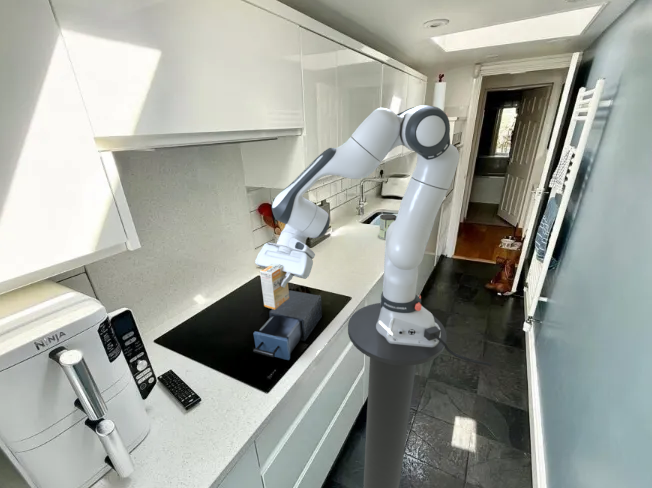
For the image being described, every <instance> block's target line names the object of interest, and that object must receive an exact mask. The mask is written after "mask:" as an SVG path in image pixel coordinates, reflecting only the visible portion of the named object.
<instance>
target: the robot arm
mask: <svg viewBox="0 0 652 488" xmlns="http://www.w3.org/2000/svg"><path fill="white" fill-rule="evenodd" d="M450 133H451V125H450V120H449V117H448V115H447V113H446V112H445V111H444V110H443V109H441V108H439V107H437V106H435V105H434V106H432V105H426V104H421V105H418V106H413V107H410V108H408V109H405V110H404V111H402V112H399V113H397V114H396V113H395V111H393V110H391V109H388V108H386V107H377V108H376V109H374V110H372V112H371V113H370V114H368V116H367V117H365V118H364V120H363V121H362V122H361V123H359V125H358V126H357V127H356V129H355V130H354V131H353V133H351V136H350V137H349V138H348V139H347V140H346V141H345V142H344V143H342V144H341V145H338V146H337V147H328V148H326V149H325V150H324V151H322V152H321V153H320V154H319V155H318V156H317V157H316V158H314V160H313V161H312V162H310V164H309V165H308V166H307V167H306V168H305V169H304V170H303V171H302V172H301V173H300V174H299V175H297V177H296V178H295V179H294V180H293V181H292V182H291V183H290V184H289V185H288V186H286V187H285V188H284V189H282V190H281V192H279V193H278V194H277V195H276V197H274V200H273V202H272V204H271V211H272V214H273V217H274V218H275V220H276V221H278V222H279V223H282V224H284V227H283V229H282V230H281V232H280V234H279V236H278V239H277V241H276V242H272V241H268V242H266V243H264V244H263V246H262V247H261V249H260V251H259V252H258V254H257V255H256V257H255V260H254V263H255V265H256V266H258V267H259V268H262V269H264V268H266V267H268V266H269V265H271V264H280V265H283V266H284V267H283V272H287V273H286V275H285V276H287V277H286V278H285V279H284V280H283V281H282V280H280V283H279V286H280V287H283V288H285V286H286V284H287V283H288V284H289V282H291V281H292V279H293V278H294V277H295V278H300V279H304V280H306V279H307V278H309V276H310V274H311V271H312V269H313V265H314V260H313V259H314V258H315V257H316V253H315V252H314V250H313V249H311V247H309V246H308V245H307V244H306V243H307V239H308V238H309V239H318V238H321V237H323V236H325V235H326V233H327V232H328V230H329V227H330V223H331V219H330V218H331V217H330V215H329V212H327V211H326V210H325V209H323V208H322V207H320V206H319V205H317V204H315V203H314V202H313V201H311V200H309V199H307V198H306V197H304V195H305V194H306V193H307V192H308V191H309V190H310V188H312V187H313V186H314V185H315V184H316V183H317V182H318V181H319V180H320V179H321V178H323V177H326V176H336V177H341V178H345V179H350V180H361V179H362V180H363V179H366V178H367V177H368V178H369V176H371V175H372V174H373V173H374V172H375V171H376V170H377V168H378V167H379V166H380V165H381V164H382V162H383V161H384V160H385V159H386V157H387V155H388V154H389V153H391V151H393V150H394V149H395V148H397V147H399V146H403V147H404V148H406V149H408V150H410V151H413V152H415V153H416V163H415V167H414V170H413V172H412V174H411V176H410V179H409V182H408V184H407V187H406V189H405V192H404V194H403V196H402V198H401V202H400V205H399V209H398V213H397V214H396V220H395V221H393V222H392V223H391V224H390V226H389V227H388V229H387V232H386V239H384V240H385V241H384V242H385V243H384V244H385V245H384V263H383V264H384V265H383V283H382V291H381V293H380V301H379V303H380V304H381V311H380V315H379V319H378V321H377V323H376V329H377V331H378V332H379V333H380V334H381V335H382V336H384V337H385V338H386V339H387V341H388V342H389V343H391V344H400V345H411V346H422V347H435V346H436V345H437V344H438V343H439V341H440V342H441V343H442V344H443V345H444V347H445V348H444V349H445V350H446V351H447V352H448V353H449V354H450V355H452V356H454V357H456V358H458V359H461V360H463V361H467V362H469V363H473V364H478V365H484V366H488V367H491V366H492V362H488V361H481V360H477V359H473V358H469V357H467V356H463V355H460V354H458V353H456V352H454V351H453V350H451V349H450V348H449V346H448V345H447V342H446V343H445V342H444V341H443V340H442V339H441V338H440V337H441V330H440V328H439V326H438V324H437V323H435V321H434V317H435V316H434V315H433V313H431V311H430V310H428V309H427V308H426V307H424V306H423V305H422V296H421V295H419V296H418V295H417V286H418V278H419V266H420V264H421V263H422V261H423V259H424V255H425V252H426V248H427V245H428V243H429V240H430V237H431V234H432V230H433V228H434V224H435V221H436V218H437V215H438V213H439V210H440V209H441V206H442V204H443V202H444V200H445V197H446V196H447V193H448V191H449V189H450V187H451V185H452V182H453V180H454V177H455V174H456V171H457V167H458V164H459V160H460V151H459V150H458V148H457V147H456V146H455V145H454V144H452V143H451V134H450ZM433 316H434V317H433Z"/></svg>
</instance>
